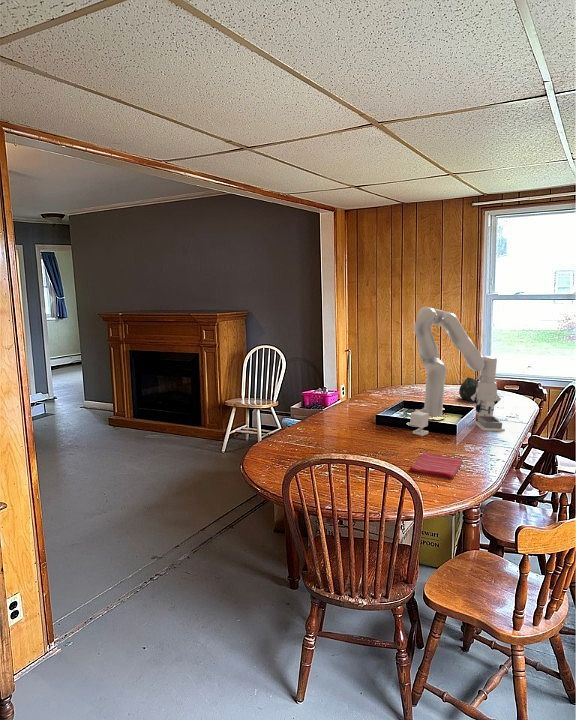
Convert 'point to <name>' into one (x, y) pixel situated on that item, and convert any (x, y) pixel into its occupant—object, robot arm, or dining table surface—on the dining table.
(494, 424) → the dock board
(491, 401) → the ink box
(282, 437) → the dining table surface
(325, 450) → the dining table surface
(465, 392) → the squash
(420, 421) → the security camera
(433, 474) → the dish towel
